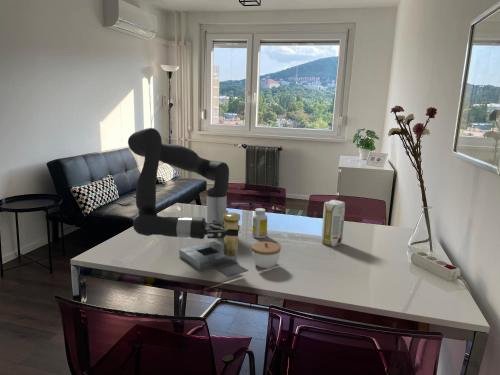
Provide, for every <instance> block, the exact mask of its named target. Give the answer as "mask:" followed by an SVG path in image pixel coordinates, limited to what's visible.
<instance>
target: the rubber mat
mask: <svg viewBox="0 0 500 375" xmlns="http://www.w3.org/2000/svg"><path fill="white" fill-rule="evenodd" d="M213 269H215V270H216V271H218V272H220V273H221V274H222V275H224V276H226V277H227V278H229V277H232V276H235V275H239V274H243V273H245V272H248V271H249V269H247V268H245V267H243V265H240V264H238V263H237V262H236V261H235V262H231V263H227V264H224V265H220V266H217V267H213Z"/></svg>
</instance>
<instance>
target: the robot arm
mask: <svg viewBox="0 0 500 375" xmlns="http://www.w3.org/2000/svg"><path fill="white" fill-rule="evenodd" d="M162 141H163V140H162V135H161V133H160V132H159V131H158V129H156V128H153V127H147V128H144V129H141V130H137V131H135V132H133V133H132V134H131V135H130V136H129V137H128V140H127V144H128V147H129V149H130V151H131V152H132V153H133V154H135V155H137V156H140V157H143V158H144V162H143V166H142V169H141V171H140V174H139V175H138V179H137V183H136V187H135V189H136V190H135V206H136V208H137V211H138V216H137V217H135V218H134V220H133V222H132V223H133V224H132V228H133V230H134V231H135V232H136V233H137V234H138V235H142V236H145V237H150V236H152V235H153V236H154V235H155V236H164V237H170V238H171V237H172V238H182V239H192V240H193V239H196V240H198V239H199V240H203V239H205V236H207V237H206V238H207V239H224V238H225V237H226V236H238V237H239V231H240V224H238V230H237V229H228V230H227V229H224V220H223V214H225V213H229V211H228V210H227V201H228V200H227V197H228V196H227V195H228V194H227V193H228V190H229V182H230V181H229V180H230V168H229V167H230V166H228V164H227V163H226V162H223V161H216V160H212V159H211V160H210V159H207V158H203V157H200V156H199V155H198V154H197V152H195V151H194V150H192V149H190V148H188V147H186V146H183V145H180V144H172V143H171V144H170V143H163V142H162ZM160 162H161V163H163V164H168V165H170V166H172V167H175V168H177V169H180V170H183V171H185V172H190V173H195V174H197V175H199V176H201V177H203V178H205V179H206V180H209V181H214V182H213V187H209V188H208V189H207V190H206V218H205V217H196V216H195V217H193V216H191V217H190V216H178V217H177V216H160V215H158V211H157V206H156V204H157V176H158V169H159V165H160V164H159V163H160Z"/></svg>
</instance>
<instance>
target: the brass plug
mask: <svg viewBox="0 0 500 375" xmlns="http://www.w3.org/2000/svg"><path fill="white" fill-rule="evenodd" d="M223 220H224V229H227V230H228V229H237V230H238V225H240V223H239V222H240V221H241V214H240V213H237V212H228V213H225V214H223ZM238 244H239V235H238V236H226V237H225V238H223V246H224V255H225V256H236V255H237V256H238V249H239V247H238V246H239V245H238Z"/></svg>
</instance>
